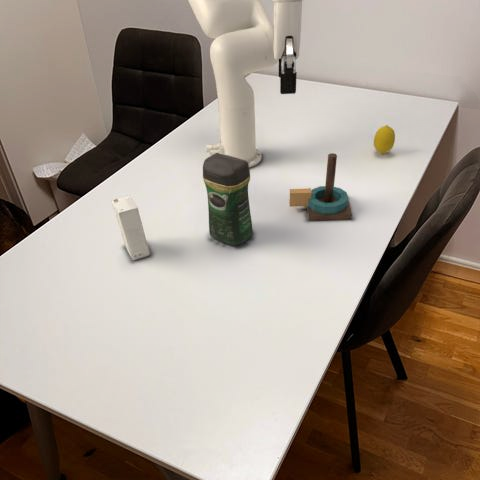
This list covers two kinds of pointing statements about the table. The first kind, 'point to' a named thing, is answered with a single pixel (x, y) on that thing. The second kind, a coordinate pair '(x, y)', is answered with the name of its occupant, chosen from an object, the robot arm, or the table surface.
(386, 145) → the lemon
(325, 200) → the peg stand
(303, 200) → the ring
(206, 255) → the table surface
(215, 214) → the coffee jar
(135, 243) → the cosmetic box
